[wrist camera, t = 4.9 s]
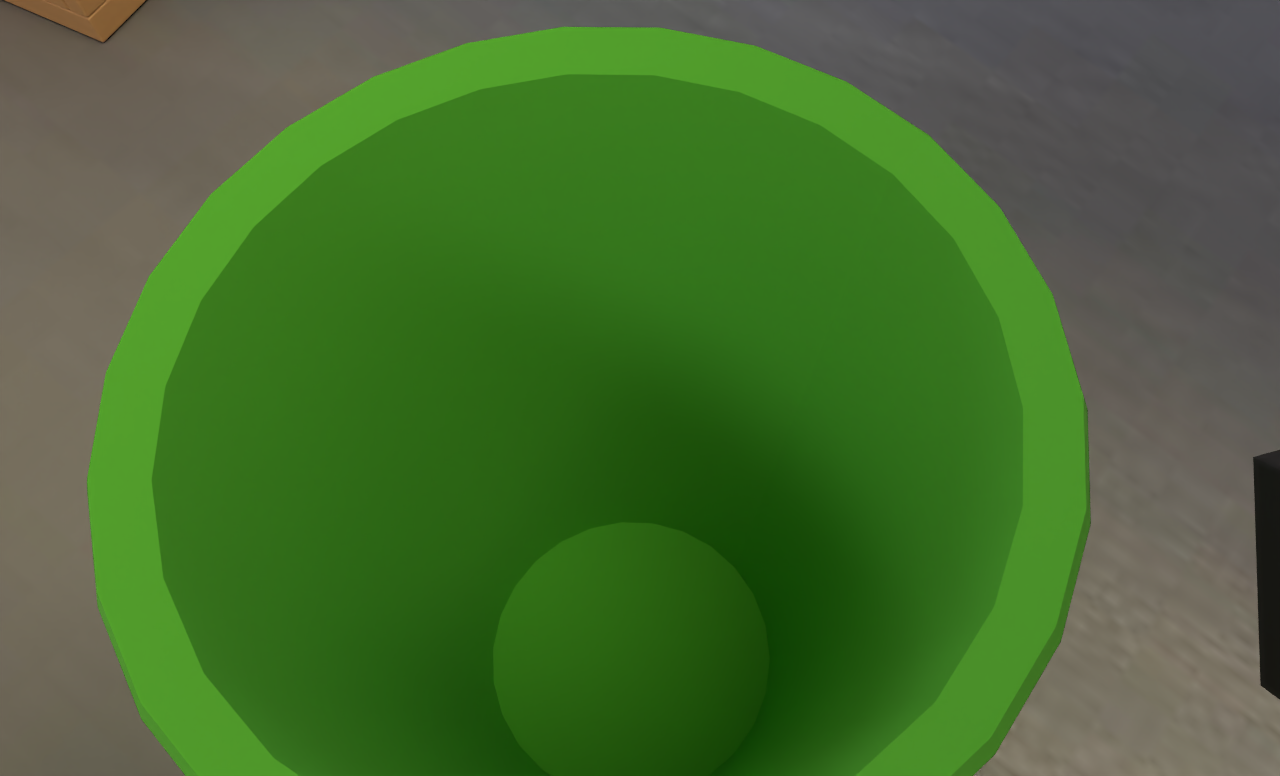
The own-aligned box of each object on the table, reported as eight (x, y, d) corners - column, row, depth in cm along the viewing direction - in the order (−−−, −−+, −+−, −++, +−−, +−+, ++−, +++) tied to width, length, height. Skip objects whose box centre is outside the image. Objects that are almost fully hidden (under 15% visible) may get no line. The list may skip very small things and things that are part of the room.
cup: (292, 629, 20) (-86, 333, 10) (666, 356, 22) (656, -99, 12) (585, 1074, 16) (446, 1286, 7) (989, 696, 19) (1324, 440, 9)
